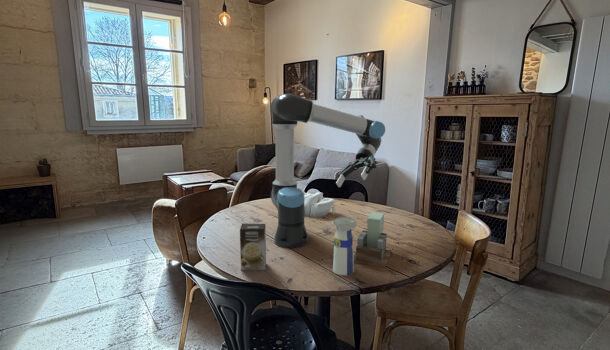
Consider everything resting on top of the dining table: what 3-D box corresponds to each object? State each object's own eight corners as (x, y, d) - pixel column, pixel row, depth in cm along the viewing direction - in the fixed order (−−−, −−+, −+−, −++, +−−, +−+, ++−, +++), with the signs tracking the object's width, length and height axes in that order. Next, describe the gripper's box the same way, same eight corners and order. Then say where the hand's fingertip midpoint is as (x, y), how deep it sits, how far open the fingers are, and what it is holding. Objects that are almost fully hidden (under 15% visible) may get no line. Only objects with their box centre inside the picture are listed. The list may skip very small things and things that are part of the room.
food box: (240, 271, 122) (238, 229, 119) (242, 263, 128) (241, 223, 125) (265, 270, 123) (264, 228, 119) (266, 262, 129) (265, 222, 126)
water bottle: (343, 278, 116) (344, 209, 112) (327, 269, 123) (327, 203, 119) (359, 271, 121) (361, 205, 117) (343, 263, 128) (345, 200, 123)
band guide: (360, 247, 143) (360, 227, 141) (391, 252, 138) (392, 231, 136) (351, 261, 129) (351, 239, 128) (385, 267, 124) (386, 244, 123)
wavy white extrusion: (272, 209, 198) (272, 192, 196) (289, 203, 212) (289, 187, 210) (323, 220, 179) (323, 201, 177) (338, 212, 192) (338, 195, 190)
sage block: (370, 243, 144) (372, 212, 141) (382, 245, 142) (384, 213, 139) (366, 251, 135) (367, 218, 133) (378, 253, 134) (380, 219, 131)
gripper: (392, 153, 153) (378, 181, 138) (348, 168, 169) (332, 194, 155) (384, 140, 150) (369, 167, 136) (341, 156, 167) (324, 181, 152)
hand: (349, 181), depth 145 cm, fingers open, 13 cm apart
